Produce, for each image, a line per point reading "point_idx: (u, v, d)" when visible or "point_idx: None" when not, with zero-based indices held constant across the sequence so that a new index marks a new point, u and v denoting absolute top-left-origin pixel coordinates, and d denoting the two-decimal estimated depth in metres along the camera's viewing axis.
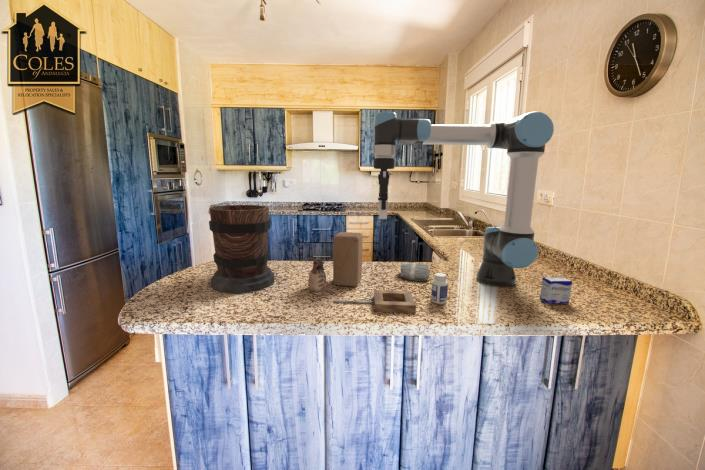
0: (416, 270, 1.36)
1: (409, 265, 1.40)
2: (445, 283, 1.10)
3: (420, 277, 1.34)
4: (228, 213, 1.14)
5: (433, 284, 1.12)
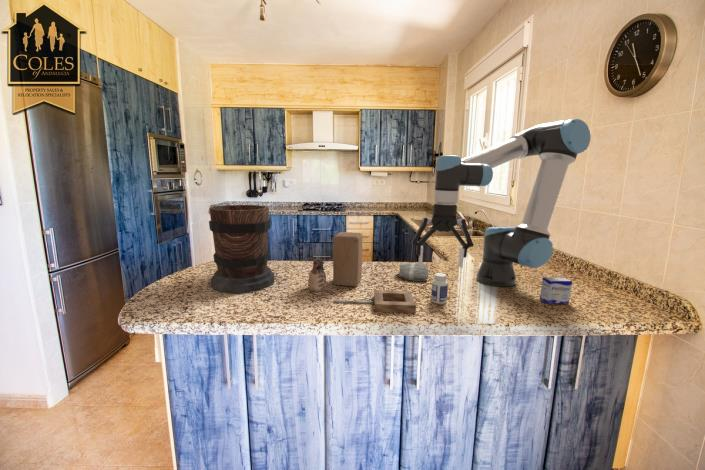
0: (415, 270, 1.36)
1: (408, 265, 1.40)
2: (445, 283, 1.10)
3: (419, 277, 1.34)
4: (228, 213, 1.14)
5: (433, 284, 1.12)
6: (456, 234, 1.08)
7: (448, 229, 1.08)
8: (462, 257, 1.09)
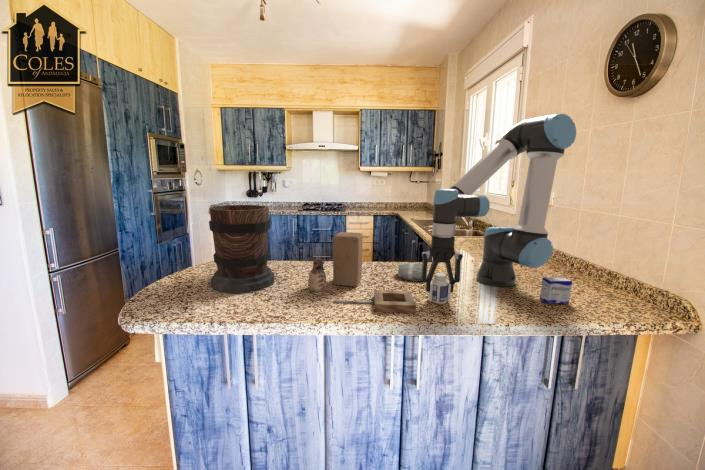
0: (414, 270, 1.36)
1: (407, 265, 1.40)
2: (445, 283, 1.10)
3: (418, 277, 1.34)
4: (228, 213, 1.14)
5: (433, 284, 1.12)
6: (449, 267, 1.10)
7: None
8: (449, 292, 1.12)
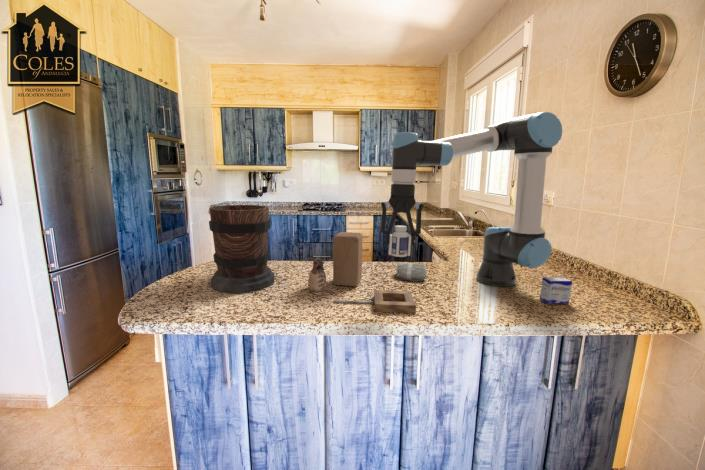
0: (413, 270, 1.35)
1: (405, 265, 1.39)
2: (405, 234, 1.04)
3: (417, 277, 1.34)
4: (228, 213, 1.14)
5: (393, 236, 1.05)
6: (409, 218, 1.04)
7: None
8: (409, 245, 1.05)
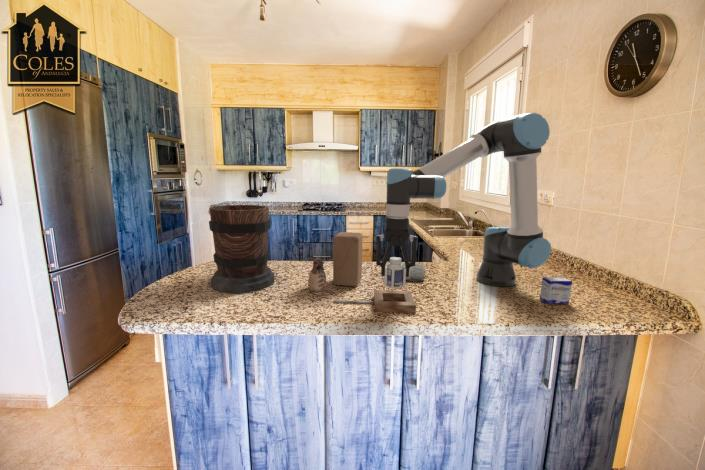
0: (412, 270, 1.35)
1: (404, 265, 1.39)
2: (400, 267, 1.06)
3: (416, 277, 1.34)
4: (228, 213, 1.14)
5: (388, 268, 1.07)
6: (403, 251, 1.06)
7: None
8: (404, 277, 1.07)
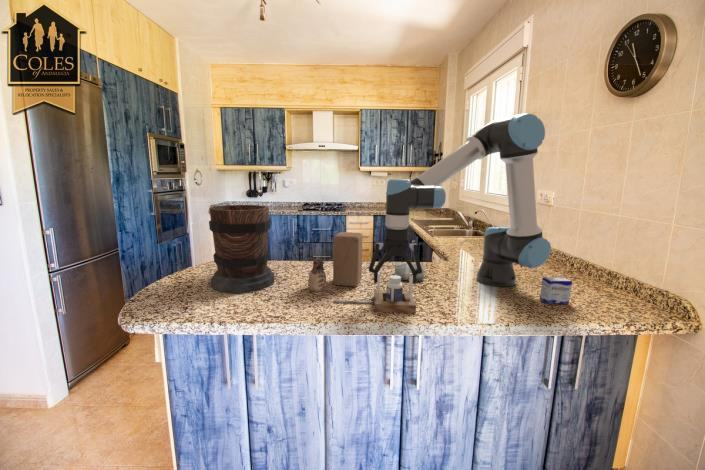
0: None
1: (404, 265, 1.39)
2: (399, 286, 1.07)
3: None
4: (228, 213, 1.14)
5: (387, 287, 1.08)
6: (406, 259, 1.06)
7: (400, 253, 1.06)
8: (411, 284, 1.07)
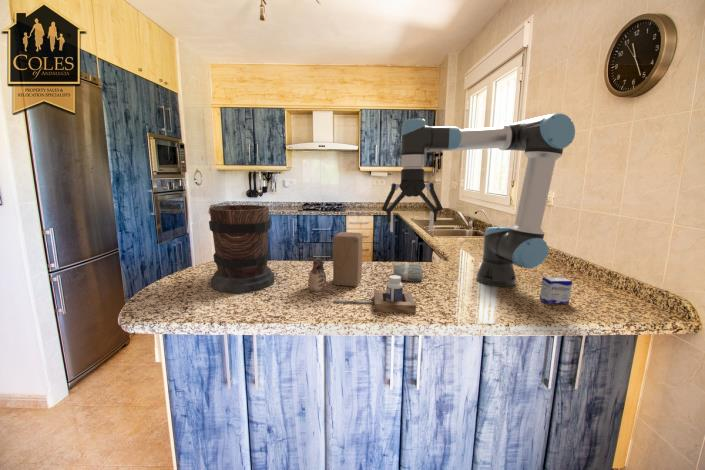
0: (409, 270, 1.35)
1: (402, 265, 1.39)
2: (399, 286, 1.07)
3: (414, 277, 1.34)
4: (228, 213, 1.14)
5: (387, 287, 1.08)
6: (425, 198, 1.08)
7: (417, 194, 1.08)
8: (432, 221, 1.10)
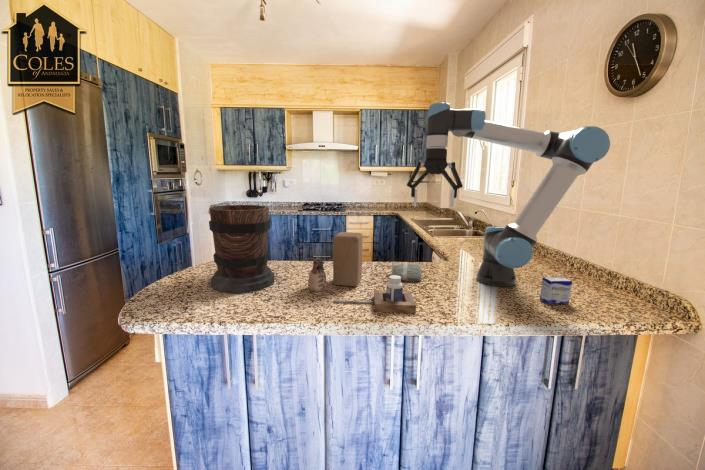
0: (408, 270, 1.35)
1: (401, 265, 1.39)
2: (399, 286, 1.07)
3: (412, 277, 1.33)
4: (228, 213, 1.14)
5: (387, 287, 1.08)
6: (447, 176, 1.19)
7: (439, 171, 1.19)
8: (452, 197, 1.20)
